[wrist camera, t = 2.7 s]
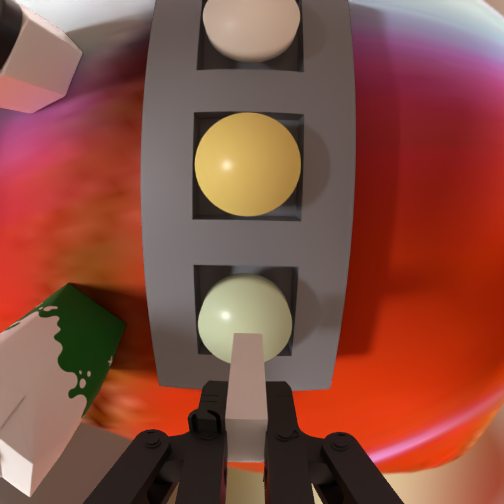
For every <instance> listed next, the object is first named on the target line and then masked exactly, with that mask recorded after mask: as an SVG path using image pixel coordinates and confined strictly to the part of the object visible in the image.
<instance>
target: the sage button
mask: <svg viewBox="0 0 504 504" xmlns="http://www.w3.org/2000/svg"><path fill="white" fill-rule="evenodd" d="M198 329H199V334H200V337H201V339H202V341H203V343H204V345H205V346H206V347H207V349H208V350H209V351H210V352H211V353H212V354H213V355H215V356H216V357H217V358H219V359H221V360H223V361H225V362H227V363H231V356H232V346H233V337H234V333H259V334H262V339H263V354H264V362H266V361H268V360H270V359H272V358H273V357H275V356H276V355H277V354H279V353H280V352H281V351H282V350H283V348H284V347H285V346H286V344H287V343H288V340H289V338H290V335H291V331H292V318H291V314H290V310H289V307H288V304H287V300H286V298H285V296H284V294H283V292H282V291H281V289H280V288H279V287H278V286H277V285H276V284H275V283H273V282H272V281H271V280H269V279H267V278H265V277H263V276H260V275H257V274H252V273H239V274H233V275H230V276H227V277H225V278H223V279H221V280H220V281H218V282H217V283H216V284H215V285H214V286H213V287H212V288H211V289H210V290H209V292H208V293H207V295H206V297H205V299H204V302H203V305H202V308H201V311H200V314H199V319H198Z"/></svg>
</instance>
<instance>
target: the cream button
mask: <svg viewBox="0 0 504 504" xmlns="http://www.w3.org/2000/svg"><path fill="white" fill-rule="evenodd" d="M203 22H204V26H205V29H206V32H207V35H208V38H209V41H210V43H211V44H212V46H213V47H214V48H215V49H216V50H217V51H218V52H219V53H221V54H222V55H224V56H226V57H227V58H230V59H232V60H236V61H240V62H247V63H257V62H263V61H267V60H270V59H273V58H275V57H277V56H279V55H281V54H282V53H283V52H285V51H286V50H287V49H288V48H289V46H290V45H291V44H292V42H293V40H294V37H295V34H296V31H297V29H298V26H299V22H300V11H299V8H298V5H297V3H296V1H295V0H208V1H207V3H206V5H205V7H204V11H203Z"/></svg>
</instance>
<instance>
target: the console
mask: <svg viewBox="0 0 504 504" xmlns="http://www.w3.org/2000/svg"><path fill="white" fill-rule="evenodd" d="M207 1H208V0H156V2H155V8H154V14H153V20H152V27H151V33H150V41H149V49H148V57H147V66H146V76H145V87H144V100H143V116H142V138H141V219H142V241H143V258H144V271H145V283H146V294H147V304H148V313H149V321H150V329H151V337H152V344H153V351H154V358H155V364H156V370H157V376H158V382H159V386H165V387H175V388H187V389H201V390H202V389H203V386H204V385H205V384H206V383H207V382H208V381H209V380H211V381H229V375H230V366H231V363H227V362H225V361H223V360H221V359H219V358H217V357H216V356H215V355H213V354H212V353H211V352H210V351H209V350H208V349H207V347H206V346H205V345H204V343H203V341H202V339H201V337H200V334H199V329H198V319H199V314H200V311H201V308H202V305H203V302H204V299H205V297H206V295H207V293H208V292H209V290H210V289H211V288H212V287H213V286H214V285H215V284H216V283H217V282H218V281H220V280H221V279H223V278H225V277H227V276H230V275H233V274H239V273H252V274H257V275H260V276H263V277H265V278H267V279H269V280H271V281H272V282H273V283H275V284H276V285H277V286H278V287H279V288H280V289H281V291H282V292H283V294H284V296H285V298H286V300H287V304H288V307H289V310H290V314H291V318H292V331H291V335H290V338H289V340H288V343H287V344H286V346H285V347H284V348H283V350H282V351H281V352H280V353H279V354H277V355H276V356H275V357H273V358H272V359H270V360H268V361H266V362H264V369H265V381H286V382H287V383H288V385H289V386H290V387H291V389H292V391H301V390H319V389H330V386H331V381H332V376H333V371H334V365H335V360H336V354H337V348H338V342H339V336H340V330H341V323H342V317H343V310H344V302H345V294H346V286H347V278H348V269H349V259H350V249H351V237H352V224H353V210H354V191H355V164H356V100H355V74H354V57H353V44H352V32H351V22H350V13H349V4H348V0H295V1H296V3H297V5H298V8H299V11H300V22H299V26H298V29H297V31H296V34H295V37H294V40H293V42H292V44H291V45H290V46H289V48H288V49H287V50H286V51H285V52H283V53H282V54H281V55H279V56H277V57H275V58H273V59H270V60H267V61H263V62H257V63H247V62H240V61H236V60H232V59H230V58H227V57H226V56H224V55H222V54H221V53H219V52H218V51H217V50H216V49H215V48H214V47H213V46H212V44H211V43H210V41H209V38H208V35H207V32H206V29H205V26H204V22H203V11H204V7H205V5H206V3H207ZM248 112H250V113H258V114H263V115H266V116H268V117H271V118H273V119H275V120H276V121H278V122H279V123H281V124H282V125H283V126H284V127H285V128H286V129H287V130H288V131H289V132H290V133H291V135H292V136H293V138H294V139H295V142H296V144H297V146H298V149H299V152H300V158H301V170H300V176H299V180H298V182H297V185H296V187H295V189H294V191H293V192H292V194H291V195H290V196H289V198H288V199H287V200H286V201H285V202H284V203H283V204H281V205H280V206H279V207H277V208H276V209H274V210H272V211H270V212H268V213H265V214H262V215H257V216H239V215H234V214H231V213H228V212H226V211H224V210H222V209H220V208H218V207H217V206H215V205H214V204H213V203H212V202H211V201H210V200H209V199H208V198H207V197H206V196H205V194H204V193H203V191H202V190H201V188H200V186H199V184H198V181H197V177H196V172H195V156H196V152H197V148H198V146H199V143H200V141H201V139H202V138H203V136H204V135H205V133H206V132H207V131H208V130H209V129H210V128H211V127H212V126H213V125H214V124H215V123H217V122H218V121H220V120H221V119H223V118H225V117H228V116H230V115H233V114H238V113H248Z"/></svg>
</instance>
